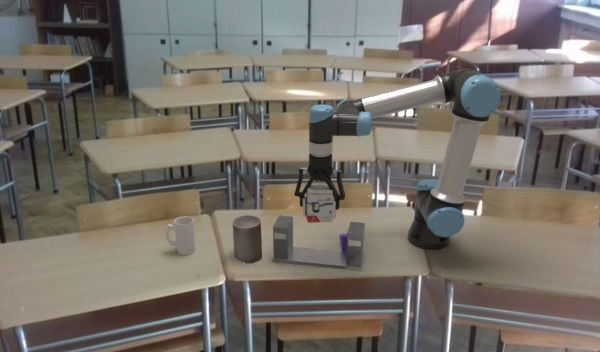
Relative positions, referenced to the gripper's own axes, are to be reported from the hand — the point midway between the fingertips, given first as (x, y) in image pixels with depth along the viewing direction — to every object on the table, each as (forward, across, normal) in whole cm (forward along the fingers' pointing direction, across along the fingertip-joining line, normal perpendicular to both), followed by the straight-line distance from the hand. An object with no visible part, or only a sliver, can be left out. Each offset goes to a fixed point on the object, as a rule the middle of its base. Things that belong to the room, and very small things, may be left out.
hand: (319, 216), depth 192 cm
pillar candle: (+17, +24, +3) cm, 30 cm away
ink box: (+1, 0, 0) cm, 1 cm away
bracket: (+17, -10, -12) cm, 23 cm away
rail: (+16, 0, 0) cm, 16 cm away
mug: (+17, +48, +4) cm, 51 cm away
